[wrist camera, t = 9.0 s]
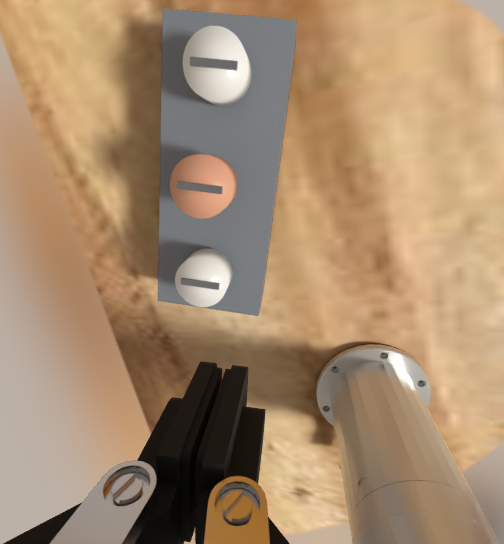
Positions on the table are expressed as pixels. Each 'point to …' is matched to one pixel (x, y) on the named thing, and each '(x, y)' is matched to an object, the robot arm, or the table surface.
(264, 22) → the control rail
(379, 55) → the table surface
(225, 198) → the knob middle
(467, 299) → the table surface
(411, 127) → the table surface
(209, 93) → the knob near
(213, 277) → the knob far
